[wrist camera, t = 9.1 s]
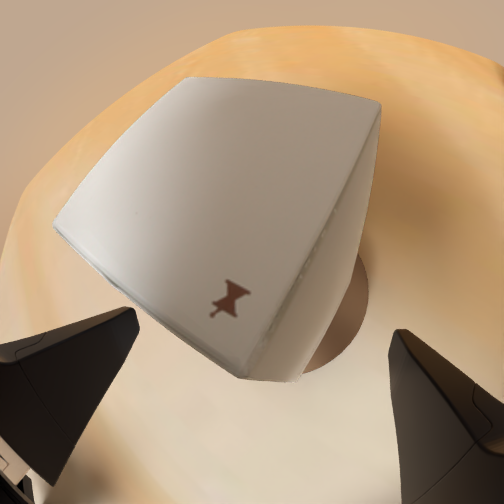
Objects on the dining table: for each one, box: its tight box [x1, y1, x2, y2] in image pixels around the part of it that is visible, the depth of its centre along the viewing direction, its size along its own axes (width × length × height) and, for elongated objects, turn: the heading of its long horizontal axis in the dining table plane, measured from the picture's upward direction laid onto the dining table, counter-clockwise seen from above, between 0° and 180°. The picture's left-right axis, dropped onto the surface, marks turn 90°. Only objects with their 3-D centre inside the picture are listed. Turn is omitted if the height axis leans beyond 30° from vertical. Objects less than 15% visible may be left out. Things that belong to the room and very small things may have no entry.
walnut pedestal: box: [302, 253, 368, 374], centre depth 19 cm, size 11×11×3 cm
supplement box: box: [53, 77, 381, 383], centre depth 12 cm, size 7×7×13 cm
